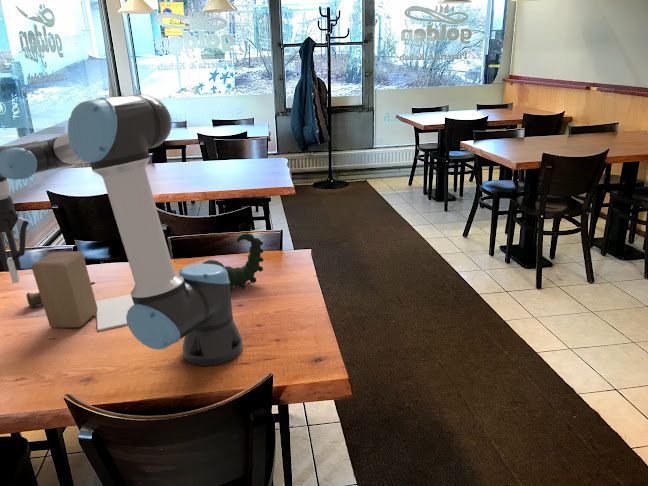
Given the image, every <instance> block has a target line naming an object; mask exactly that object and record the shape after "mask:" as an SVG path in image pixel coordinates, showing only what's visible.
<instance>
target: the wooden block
mask: <svg viewBox="0 0 648 486" xmlns="http://www.w3.org/2000/svg"><path fill="white" fill-rule="evenodd" d="M31 270H32V273H33V277H34V280H35V283H36V285H37V289H38V293H40V296H41V299H42V303H41V304H42V306H43V308H44V312H45V315H46V318H47V322H48V324H49V327H51V328H80V327H82V326H83V325H85V324H86V323H87V322H88V321H89V320H90V319H91V318H92V317H94V315H97V311H98V308H97V304H96V301H97V300H96V297H95V293H94V291H93V285H91V283H92V282H91V280H90V279H91V278H90V275H89V271H88V267H87V264H86V260H85V257H84V253H83V252H82V251H78V250H77V251H52V252H50V253H48V254H47V255H45V256H44V257H42V258H40V259H38V260H37V261H35V262H34V263H32V265H31Z"/></svg>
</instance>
